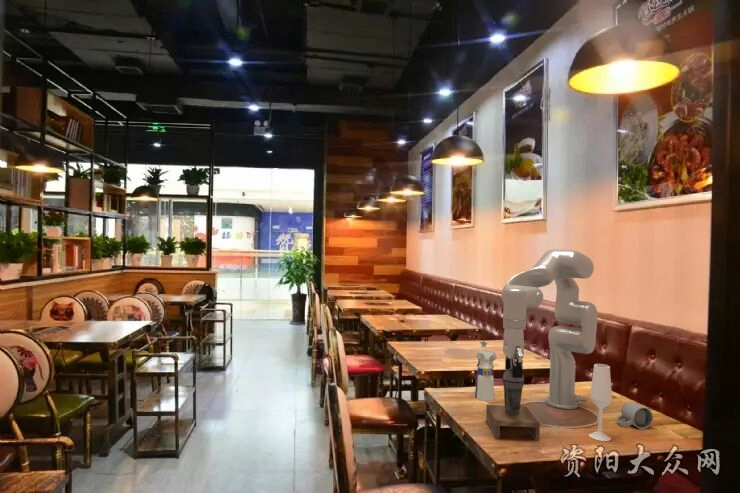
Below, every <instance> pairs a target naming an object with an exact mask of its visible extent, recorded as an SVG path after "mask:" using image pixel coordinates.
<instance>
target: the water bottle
mask: <svg viewBox="0 0 740 493" xmlns="http://www.w3.org/2000/svg"><path fill="white" fill-rule="evenodd" d="M479 344H480V345H481V348H484V349H479V350H477V351H476V353H475V358H477V360H478V362H477V364H476V367H477V374H476V375H475V376H476V378H475V392H474V398H475V399H476V400H478V401H483V402H491V401H493V400H494V399H495V395H494V393H495V392H494V390H495V389H494V388H495V387H494V386H495V385H494V384H495V383H494V380H495V379H494V378H495V377H494V368H495V366H494V363H493V362H494V361H495V360H496V359H497V354H496V352H495V351H493V350H489V349H486V348H487V345H488V344H489V343H488V342H485V339H483V340H482V341H480V342H479Z"/></svg>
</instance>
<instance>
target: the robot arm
mask: <svg viewBox="0 0 740 493" xmlns="http://www.w3.org/2000/svg"><path fill="white" fill-rule="evenodd" d="M594 268H595V267H594V262H593V260H592V259H591V257H588V256H587V255H585V254H584V253H582V252H580V251H579V250H573V249H550V250H547V251H546V252H544V254H543V255H542V256H541V257H540V258H539V260H537V262H536V263H535V265H533V267H531V268H529V269H526V270H524V271H521V272H519V273H517V274H515V275H513V276H511V278H509V279H508V280H507V282H506V283H505V285H504V286H503V288H502V289H501V295H500V296H501V301H502V302H503V310H502V311H503V312H502V313H503V317H502V327H503V329H504V331H503V344H502V352H503V354H504V355H505V359H504V360H505V362H504V363H505V365H504V367H505V368H504V369H505V371H506V370H507V369H509V368H511V363H510V359H511V358H512V368H513V369H512V377H513V378H522V374H523V365H524V364H523V362H524V359H523V358H524V355H525V354H524V353H525V340H524V337H525V336H524V330H526V329H527V309H536V308H539V307H540V306H541V305H542V304H543V300H544V294H543V291H542V290H541V289H540V288H541V287H542V288H543V287H546V286H549V285H551V283H552V282H555V285H556V294H555V296H556V297H555V304H554V317H555V320H557V321H558V322H560V323H563V324H570V325H576V326H577V325H578V326H581V328H577V327H572V326H563V325H556V326H553V327H551V328H550V329H549V332H548V337H547V338H548V344H549V352H550V353H549V355H550V356H549V358H550V359H549V360H550V361H549V362H550V363H549V390H548V391H549V393H548V394H549V396H547V397H546V398H545V399H544V402H545V404H546V405H548V406H550V407H552V408H556V409H557V408H558V409H562V410H563V409H564V410H575V409H577V408H579V402H583V403H584V402H587V401H588V397H587V396H582V395H580V394H576V393H575V392H576V388H575V387H576V360H575V357H574V355H573V354H572V352H573V353H578V354H584V355H588V354H592V353H593V351H594V350H595V346H596V339H597V327H598V326H597V325H598V310H597V307H596V305H595V304H594V303H592V302H590V301H583V300H579V297H580V295H579V294H580V288H579V285H578V283H577V282H576V280H575V279H588V278H589V279H590V278H591V277H592V275H593V273H594V270H595V269H594ZM523 375H524V374H523Z"/></svg>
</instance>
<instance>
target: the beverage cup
mask: <svg viewBox="0 0 740 493" xmlns="http://www.w3.org/2000/svg"><path fill="white" fill-rule="evenodd" d="M510 363H511V368H509V369H507V370H506V369H505V371H504V372H503V374H502V385H503V392H504V393H503V395H504V399H503V400H504V406H505V413H506V414H508V415H514V416H516V415H519V410H520V406H521V402H522V394H523V393H522V392H523V388H524V383H525V377H524V374H522V378H513V377H512V369H513V368H512V358H511V359H510Z"/></svg>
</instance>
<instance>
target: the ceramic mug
mask: <svg viewBox="0 0 740 493" xmlns="http://www.w3.org/2000/svg"><path fill="white" fill-rule="evenodd" d="M622 420H625V421H622ZM653 420H654V417H653V412H652V411H651V409H649V408H648V407H647V406H644V405H640V404H637V403H634V402H627V403H625V404H624V405H623V406H622V408H621V415H619V416H618V417H616V422H617V425H618V426H620V427H628V426H634V427H635V428H637V429H638V430H639V429H640V430H645V429H648V428H649V427H651V426H652V423H653Z"/></svg>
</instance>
